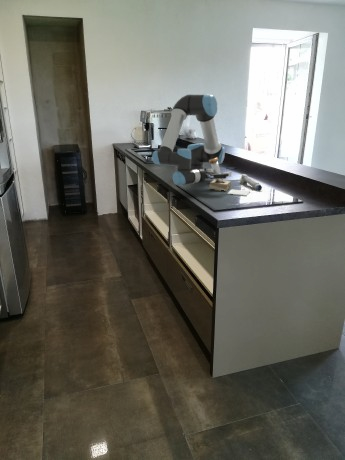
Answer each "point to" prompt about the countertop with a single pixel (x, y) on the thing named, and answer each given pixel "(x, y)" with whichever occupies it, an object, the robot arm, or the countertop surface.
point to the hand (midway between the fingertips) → (222, 172)
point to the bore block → (220, 185)
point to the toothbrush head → (250, 182)
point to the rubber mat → (238, 192)
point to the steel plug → (216, 168)
